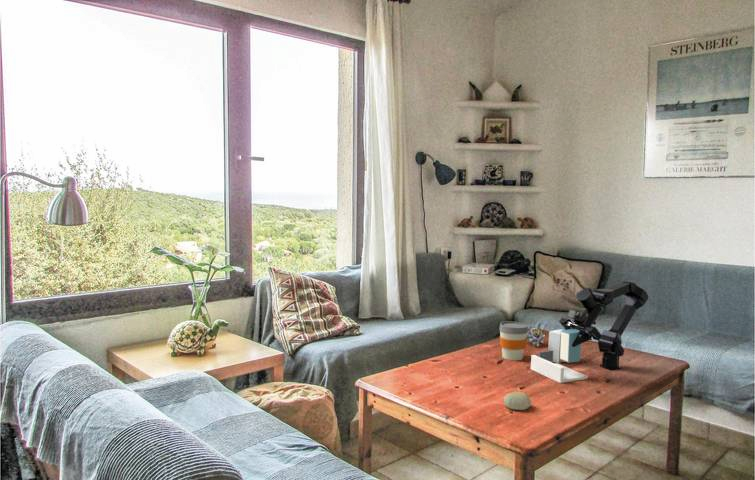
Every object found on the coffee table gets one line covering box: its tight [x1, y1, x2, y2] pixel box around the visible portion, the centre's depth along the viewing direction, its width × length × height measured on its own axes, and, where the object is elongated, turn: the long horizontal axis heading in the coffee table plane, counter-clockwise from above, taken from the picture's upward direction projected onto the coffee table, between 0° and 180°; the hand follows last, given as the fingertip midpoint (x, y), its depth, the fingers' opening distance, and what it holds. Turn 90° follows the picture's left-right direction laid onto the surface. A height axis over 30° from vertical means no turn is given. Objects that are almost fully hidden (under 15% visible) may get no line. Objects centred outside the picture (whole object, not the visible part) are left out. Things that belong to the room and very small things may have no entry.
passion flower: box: [526, 323, 546, 348], centre depth 279 cm, size 11×11×12 cm
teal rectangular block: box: [560, 329, 582, 364], centre depth 232 cm, size 6×5×12 cm
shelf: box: [530, 350, 589, 384], centre depth 235 cm, size 14×18×8 cm
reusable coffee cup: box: [499, 321, 529, 361], centre depth 257 cm, size 13×13×15 cm
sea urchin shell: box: [503, 391, 532, 411], centre depth 200 cm, size 9×8×8 cm
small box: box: [547, 328, 566, 364], centre depth 253 cm, size 8×6×13 cm
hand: (567, 344), depth 231 cm, fingers closed on teal rectangular block, 5 cm apart
